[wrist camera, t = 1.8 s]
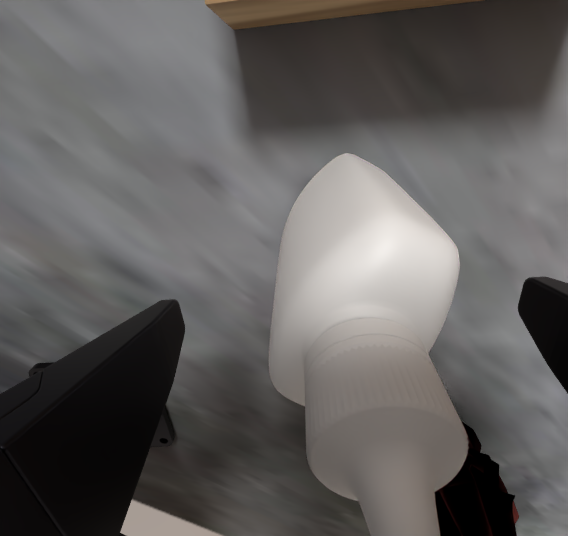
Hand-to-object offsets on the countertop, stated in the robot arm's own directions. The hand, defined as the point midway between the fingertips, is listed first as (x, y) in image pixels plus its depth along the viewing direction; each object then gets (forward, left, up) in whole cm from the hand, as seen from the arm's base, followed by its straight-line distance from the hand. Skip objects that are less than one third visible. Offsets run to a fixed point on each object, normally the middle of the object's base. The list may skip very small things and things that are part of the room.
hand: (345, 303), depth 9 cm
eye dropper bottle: (0, 0, -6) cm, 6 cm away
